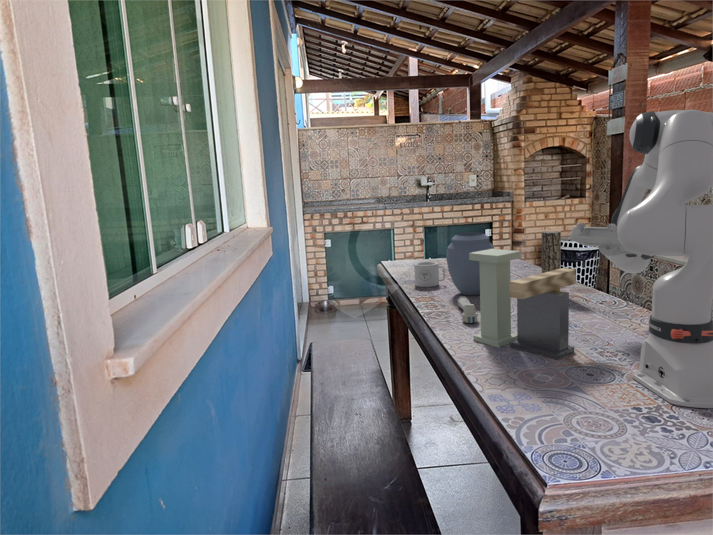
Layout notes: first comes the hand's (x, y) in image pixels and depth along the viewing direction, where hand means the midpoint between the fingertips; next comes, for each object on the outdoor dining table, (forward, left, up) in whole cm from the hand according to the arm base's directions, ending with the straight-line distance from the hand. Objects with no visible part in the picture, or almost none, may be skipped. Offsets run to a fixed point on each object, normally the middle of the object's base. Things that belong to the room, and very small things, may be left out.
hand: (594, 225), depth 148 cm
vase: (+53, +32, -32) cm, 69 cm away
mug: (+72, +49, -32) cm, 92 cm away
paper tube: (+48, +2, -32) cm, 57 cm away
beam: (-17, +17, -15) cm, 28 cm away
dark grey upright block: (-17, +18, -31) cm, 40 cm away
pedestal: (-9, +29, -31) cm, 44 cm away
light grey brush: (+21, +36, -32) cm, 52 cm away
